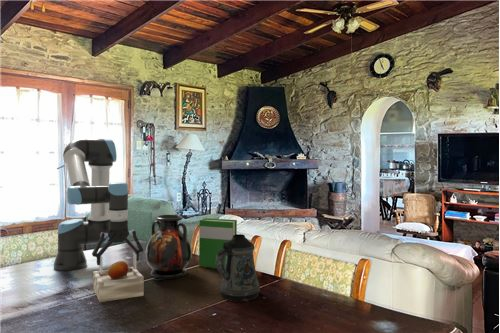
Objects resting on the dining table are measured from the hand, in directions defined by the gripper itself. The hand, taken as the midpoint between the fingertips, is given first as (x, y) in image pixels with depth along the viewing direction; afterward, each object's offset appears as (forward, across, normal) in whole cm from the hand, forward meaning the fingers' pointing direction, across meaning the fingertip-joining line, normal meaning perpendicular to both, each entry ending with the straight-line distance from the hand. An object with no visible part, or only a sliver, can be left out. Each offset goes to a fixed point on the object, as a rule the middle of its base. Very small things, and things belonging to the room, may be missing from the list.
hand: (118, 270), depth 169 cm
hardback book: (+9, +53, +17) cm, 56 cm away
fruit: (+3, 0, 0) cm, 3 cm away
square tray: (+9, 0, 0) cm, 9 cm away
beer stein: (+9, +43, -26) cm, 51 cm away
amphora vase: (+9, +26, +14) cm, 31 cm away
